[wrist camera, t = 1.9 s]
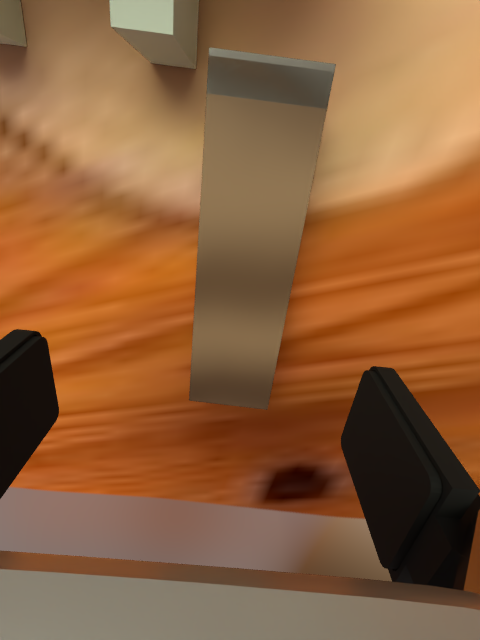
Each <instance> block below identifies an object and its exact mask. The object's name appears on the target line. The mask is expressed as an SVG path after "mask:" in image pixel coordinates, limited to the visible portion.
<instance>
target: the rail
mask: <svg viewBox="0 0 480 640" xmlns="http://www.w3.org/2000/svg"><path fill="white" fill-rule="evenodd" d="M335 66H336V64H331V63H324V62H316V61H309V60H301V59H293V58H286V57H278V56H271V55H263V54H256V53H248V52H241V51H233V50H225V49H218V48H210V47H209V61H208V78H207V96H206V113H205V131H204V149H203V166H202V184H201V201H200V219H199V236H198V254H197V271H196V289H195V307H194V324H193V342H192V359H191V377H190V394H189V400H190V401H198V402H207V403H215V404H224V405H232V406H240V407H249V408H257V409H266V410H267V409H268V404H269V399H270V394H271V389H272V384H273V379H274V374H275V369H276V363H277V358H278V353H279V348H280V343H281V338H282V333H283V328H284V323H285V318H286V313H287V308H288V303H289V298H290V293H291V288H292V283H293V278H294V273H295V268H296V263H297V258H298V252H299V247H300V242H301V237H302V232H303V227H304V222H305V217H306V212H307V207H308V202H309V197H310V192H311V187H312V182H313V177H314V172H315V167H316V162H317V157H318V152H319V147H320V141H321V136H322V131H323V126H324V121H325V116H326V111H327V106H328V101H329V96H330V91H331V86H332V81H333V76H334V71H335Z"/></svg>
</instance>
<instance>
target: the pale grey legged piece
mask: <svg viewBox="0 0 480 640" xmlns="http://www.w3.org/2000/svg"><path fill="white" fill-rule="evenodd" d="M109 2H110V22H111V27H112V28H113V29H114V30H115V31H116V32H117V33H118V34H120V35H121V36H122V37H123V38H124V39H125V40H126V41H127V42H128V43H129V44H131V45H132V46H133V47H134V48H135V49H136V50H137V51H138V52H139V53H140V54H142V55H143V56H144V57H145V58H146V59H147V60H148V61H149V62H150V63H154V64H161V65H169V66H176V67H184V68H192V69H196V58H197V36H198V13H199V0H109ZM0 43H1V44H9V45H17V46H24V47H27V43H26V36H25V29H24V21H23V14H22V7H21V0H0Z"/></svg>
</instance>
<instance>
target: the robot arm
mask: <svg viewBox="0 0 480 640" xmlns="http://www.w3.org/2000/svg"><path fill="white" fill-rule="evenodd" d="M58 414H59V407H58V401H57V395H56V389H55V383H54V378H53V372H52V366H51V360H50V355H49V349H48V343H47V340H46V338H44V337H42V336H41V334H40V333H39V332H37V331H29V330H19V329H16V330H13V331H12V332H10V333H9V334H8V335H6V336H5V337H4V338H2V339H1V340H0V498H1V497H2V496H3V494H4V493H5V492H6V490H7V489H8V488H9V486H10V485H11V483H12V482H13V481H14V479H15V478H16V476H17V475H18V474H19V472H20V471H21V469H22V468H23V466H24V465H25V464H26V462H27V461H28V459H29V458H30V457H31V455H32V454H33V452H34V451H35V450H36V448H37V447H38V445H39V444H40V443H41V441H42V440H43V438H44V437H45V436H46V434H47V433H48V431H49V430H50V429H51V427H52V426H53V424H54V423H55V422H56V420H57V417H58ZM341 447H342V450H343V453H344V456H345V459H346V462H347V465H348V468H349V471H350V474H351V477H352V480H353V483H354V486H355V489H356V492H357V495H358V498H359V501H360V504H361V507H362V510H363V513H364V516H365V519H366V521H367V525H368V528H369V531H370V534H371V537H372V539H373V542H374V545H375V548H376V551H377V554H378V557H379V560H380V563H381V564H382V566H383V567H384V568H387V569H388V570H389V573H390V576H391V579H392V582H389V581H380V580H370V579H360V578H349V577H336V576H323V575H312V574H299V573H288V572H287V573H286V572H275V571H263V570H251V569H239V568H225V567H213V566H200V565H187V564H174V563H162V562H148V561H134V560H122V559H109V558H96V557H82V556H68V555H54V554H40V553H26V552H11V551H0V640H480V496H479V495H478V493H479V492H480V490H479V488H478V487H477V486H476V484H475V483H474V481H473V480H472V478H471V477H470V476H469V474H468V473H467V471H466V470H465V469H464V467H463V466H462V464H461V463H460V462H459V460H458V459H457V457H456V456H455V454H454V453H453V452H452V450H451V449H450V447H449V446H448V445H447V443H446V442H445V440H444V439H443V438H442V436H441V435H440V433H439V432H438V430H437V429H436V428H435V426H434V425H433V423H432V422H431V421H430V419H429V418H428V416H427V415H426V414H425V412H424V411H423V409H422V408H421V406H420V405H419V404H418V402H417V401H416V399H415V398H414V397H413V395H412V394H411V392H410V391H409V390H408V388H407V387H406V385H405V384H404V382H403V381H402V380H401V378H400V377H399V375H398V374H397V373H396V371H395V370H394V369H392V368H385V367H376V366H373V367H371V368H370V370H369V371H368V370H366V371H365V372H364V373H363V375H362V378H361V381H360V384H359V387H358V390H357V393H356V395H355V398H354V401H353V404H352V407H351V410H350V413H349V416H348V419H347V421H346V424H345V427H344V430H343V433H342V436H341Z"/></svg>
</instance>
